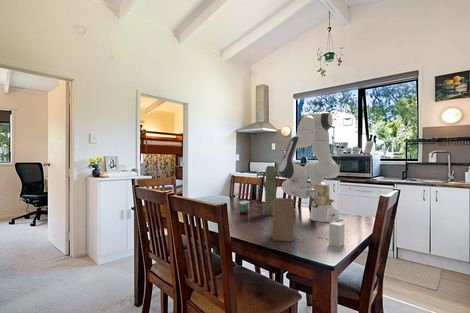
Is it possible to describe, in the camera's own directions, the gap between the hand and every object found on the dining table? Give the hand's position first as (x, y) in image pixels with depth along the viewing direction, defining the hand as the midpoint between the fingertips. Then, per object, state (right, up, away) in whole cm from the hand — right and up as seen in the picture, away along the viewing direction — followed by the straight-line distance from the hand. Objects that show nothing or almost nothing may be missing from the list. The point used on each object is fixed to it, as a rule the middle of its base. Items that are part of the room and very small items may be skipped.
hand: (323, 193), depth 126 cm
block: (-20, -23, +2) cm, 31 cm away
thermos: (-18, -24, +58) cm, 65 cm away
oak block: (0, -6, +1) cm, 6 cm away
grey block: (+4, -23, -6) cm, 25 cm away
